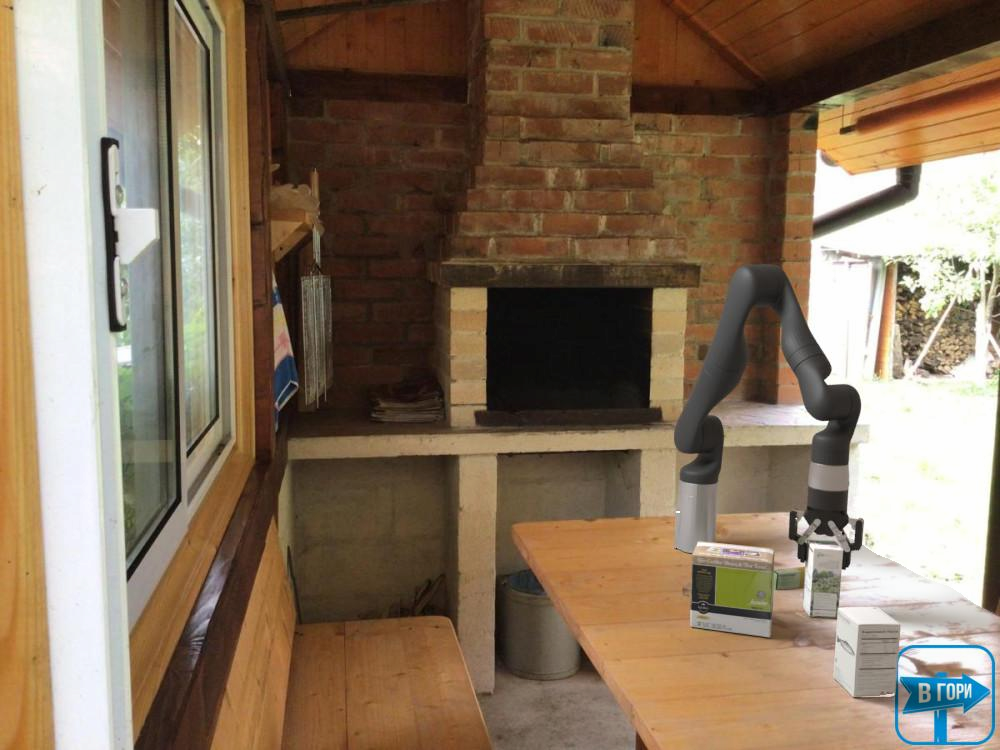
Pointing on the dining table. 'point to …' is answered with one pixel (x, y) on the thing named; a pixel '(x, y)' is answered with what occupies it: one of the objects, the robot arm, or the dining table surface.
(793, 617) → the dining table surface
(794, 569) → the medication box
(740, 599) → the tea box
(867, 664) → the supplement box
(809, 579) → the syrup box
